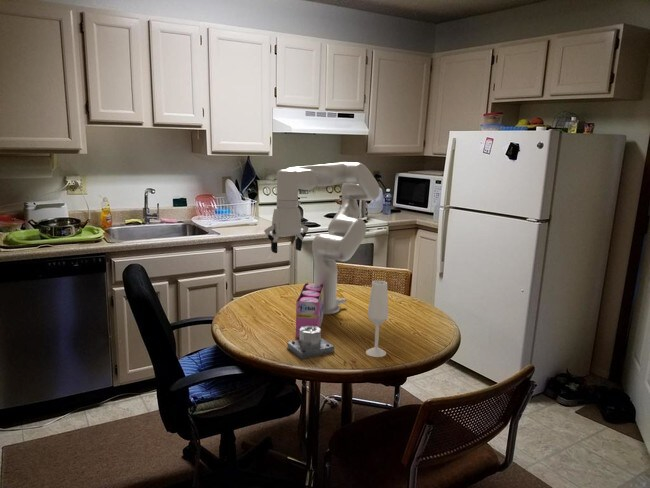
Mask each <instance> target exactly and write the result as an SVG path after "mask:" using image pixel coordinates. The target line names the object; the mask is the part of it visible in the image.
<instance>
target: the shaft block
mask: <svg viewBox="0 0 650 488" xmlns="http://www.w3.org/2000/svg"><path fill="white" fill-rule="evenodd" d="M308 331H314V329H308ZM286 346H287V349H288V350H289V351H291V352H292V353H293V354H295V356H297V357H298V358H300V359H301V360H306V359H310V358H313V357H318V356H322V355H327V354H331V353H334V352H335V346H334V345H333V344H331V343H330V342H328V341H327V340H326V339H324V338H322V337H321V344H320V345H319V346H318V347H314V348H308V347H303V346H301V345H300V344H299V339H297V340H293V341H287V345H286Z"/></svg>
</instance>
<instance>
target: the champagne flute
mask: <svg viewBox="0 0 650 488" xmlns="http://www.w3.org/2000/svg"><path fill="white" fill-rule="evenodd" d="M388 292H389V291H388V282H387V281H385V280H372V282H371V291H370V296H369V301H368V309H367V317H368V319H369V320H370V322H372V324H373V325H375V327H374V328H375V330H374V333H375V335H374V346H373V347H371V348H369V349H366V351H365V353H366V355H367V356H368V357H369V356H370V357H374V358H382V357H385V356H386V355H387V352H386V351H385V350H383V349H382V348H380V347H379V339H380V338H379V337H380V336H379V333H380V325H382V324H384V323H385V322H386V321H387V320H388V319H389V298H388V297H389V295H388V294H389V293H388Z"/></svg>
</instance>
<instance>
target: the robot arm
mask: <svg viewBox="0 0 650 488" xmlns="http://www.w3.org/2000/svg"><path fill="white" fill-rule="evenodd" d="M341 184H342V185H341ZM335 185H341V202H342V203H341V206H340V208H339V210H338V211H337V212H336V214H335V215H334V216H333V218H332V219H331V221H330V222H329V224H328V227H327V232H328V233H319V234H317V235H316V236H315V237H314V238H313V240H312V243H311V249H312V255H313V285H318V286H320V284H323V285H324V311H323V315H333V314H337V313H338V312H339V311H340V310H341V307H340V304H346V303H347V299H346V298H340V297H337V294H338V293H337V288H338V265H337V262H336V261H339V262H347V261H349V260H351V258H352V256H354V254H355V252H357V250H358V248H359V247H360V246H361V243H362V242H363V240H364V238H365V237H366V233H367V225H366V222H365V221H364V220H363V219H362V218H359V217H360V214H361V211H360V207H359V205H358V200H360V201H375V200H376V199H378V197H379V195H380V186H379V185H380V184H379V183H378V181H377V180H376V178H375V176H374V175H373V174H372V172H371V171H370V169H369V168H368V167H367V166H366V165H365V164H363V163H361V162H352V161H351V162H350V161H349V162H348V161H339V162H333V163H325V164H323V163H322V164H314V165H313V164H312V165H304V166H303V165H302V166H291V167H287V168H285V169H279V170H277V173H276V207H275V208H274V209H273V212H272V213H273V215H272V218H271V219H272V222H271V225H270V226H269V227H267V228H265V229H264V234H265V237H266V238H267V239H268V240H269V241H270V251H271V252H272V253H274V254H277V253H278V242H277V241H278V239H279V238H280V237H284V238H285V237H296V239H295V250H296V251H299V252H301V251H302V246H303V240H304V238H305V237H306V236H307V233H308V231H309V229H310V228H309V227H308V226H306V225H304V224H302V219H301V217H302V216H301V211H300V208H299V205H301V204H302V203H301V200H299V190H304V191H309V190H312V189H314V188H315V187H331V186H335ZM271 234H272V235H271Z"/></svg>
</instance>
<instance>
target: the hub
mask: <svg viewBox="0 0 650 488" xmlns="http://www.w3.org/2000/svg"><path fill="white" fill-rule="evenodd" d="M308 329H314V331H308ZM321 338H322V328H321V327H320V328H319V327H317V326H311V325H308V326H303V327H301V328H300V333H299V339H298V340H299V344H300V345H301V346H303V347H308V348H314V347H318V346H319V345H320V344H321Z"/></svg>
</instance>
